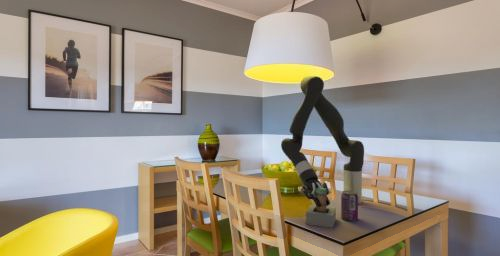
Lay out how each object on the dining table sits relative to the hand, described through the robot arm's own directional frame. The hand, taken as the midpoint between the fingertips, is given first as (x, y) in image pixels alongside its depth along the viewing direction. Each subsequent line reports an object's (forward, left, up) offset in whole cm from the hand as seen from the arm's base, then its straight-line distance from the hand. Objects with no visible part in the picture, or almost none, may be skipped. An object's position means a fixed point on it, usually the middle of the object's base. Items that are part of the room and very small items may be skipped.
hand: (324, 205), depth 120 cm
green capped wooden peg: (-1, -1, -5) cm, 6 cm away
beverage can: (-9, +10, -8) cm, 16 cm away
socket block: (-1, -1, -7) cm, 8 cm away
